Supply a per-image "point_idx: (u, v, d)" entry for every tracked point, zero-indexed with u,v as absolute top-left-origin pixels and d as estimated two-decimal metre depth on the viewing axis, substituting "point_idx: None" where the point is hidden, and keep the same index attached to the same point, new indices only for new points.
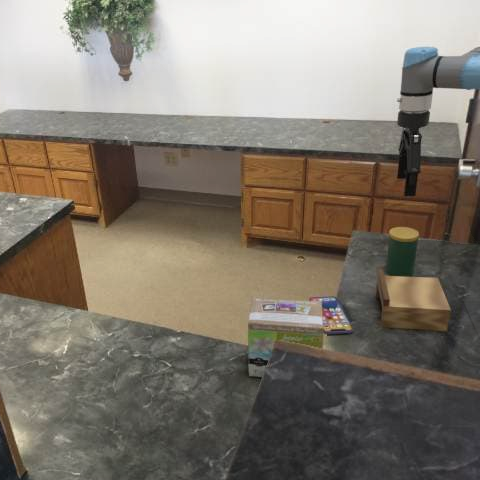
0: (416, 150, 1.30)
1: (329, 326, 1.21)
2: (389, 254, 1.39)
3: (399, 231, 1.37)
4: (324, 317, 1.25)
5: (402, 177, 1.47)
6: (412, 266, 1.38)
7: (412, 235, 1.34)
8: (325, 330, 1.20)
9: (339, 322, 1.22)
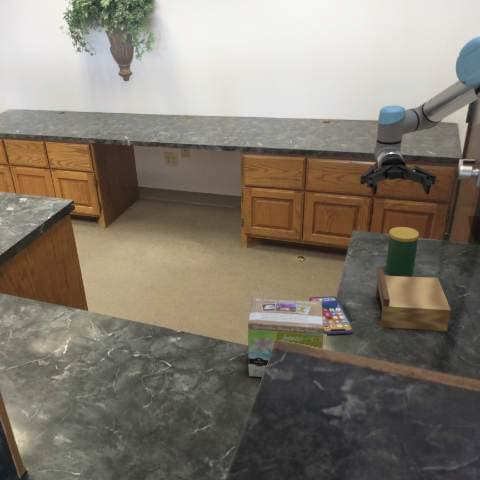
0: None
1: (329, 326, 1.21)
2: (389, 254, 1.39)
3: (399, 231, 1.37)
4: (324, 317, 1.25)
5: (426, 189, 1.40)
6: (412, 266, 1.38)
7: (412, 235, 1.34)
8: (325, 330, 1.20)
9: (339, 322, 1.22)
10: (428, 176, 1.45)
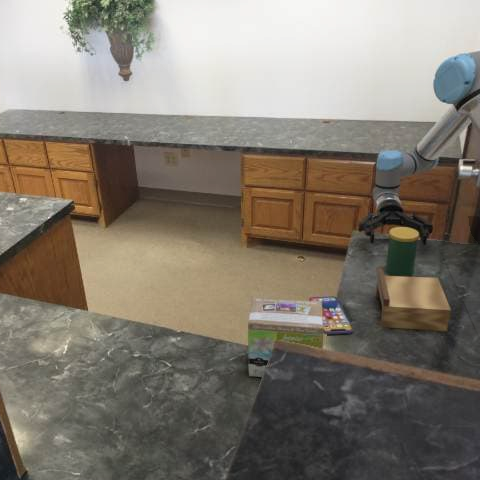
0: None
1: (329, 326, 1.21)
2: (389, 254, 1.39)
3: (399, 231, 1.37)
4: (324, 317, 1.25)
5: (423, 239, 1.43)
6: (412, 266, 1.38)
7: (412, 235, 1.34)
8: (325, 330, 1.20)
9: (339, 322, 1.22)
10: (425, 225, 1.47)
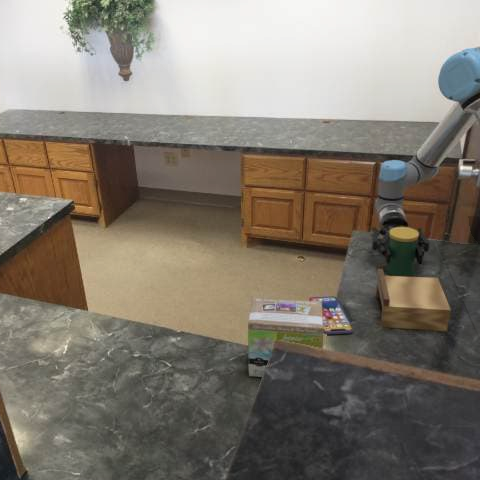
0: None
1: (329, 326, 1.21)
2: None
3: (399, 231, 1.37)
4: (324, 317, 1.25)
5: (418, 259, 1.34)
6: (412, 266, 1.38)
7: (412, 235, 1.34)
8: (325, 330, 1.20)
9: (339, 322, 1.22)
10: (420, 243, 1.38)
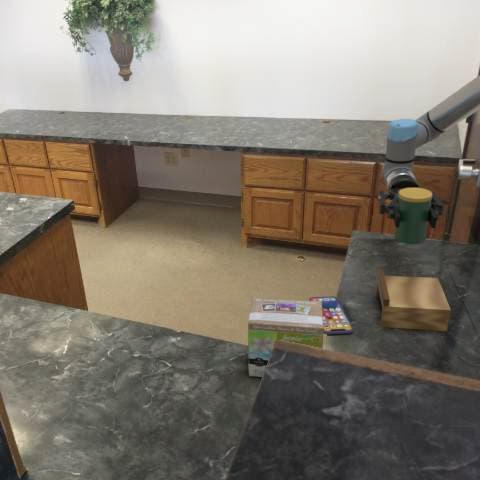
0: None
1: (329, 326, 1.21)
2: None
3: (410, 191, 1.22)
4: (324, 317, 1.25)
5: (432, 222, 1.19)
6: (424, 231, 1.23)
7: (425, 195, 1.19)
8: (325, 330, 1.20)
9: (339, 322, 1.22)
10: (433, 206, 1.23)
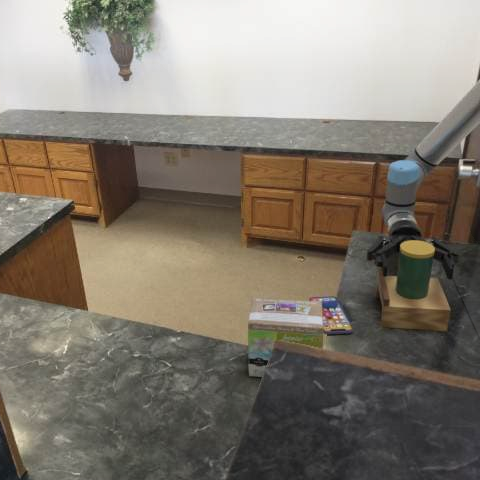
0: None
1: (329, 326, 1.21)
2: (400, 272, 1.19)
3: (412, 245, 1.18)
4: (324, 317, 1.25)
5: (448, 273, 1.15)
6: (427, 286, 1.18)
7: (427, 250, 1.15)
8: (325, 330, 1.20)
9: (339, 322, 1.22)
10: (450, 254, 1.19)
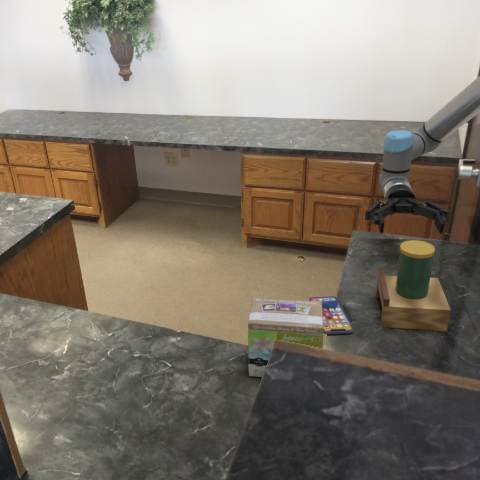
0: None
1: (329, 326, 1.21)
2: (400, 272, 1.19)
3: (412, 245, 1.18)
4: (324, 317, 1.25)
5: (440, 228, 1.25)
6: (427, 286, 1.18)
7: (427, 250, 1.15)
8: (325, 330, 1.20)
9: (339, 322, 1.22)
10: (441, 212, 1.29)
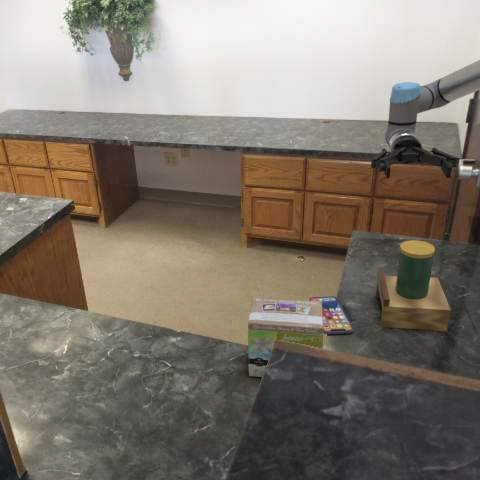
0: None
1: (329, 326, 1.21)
2: (400, 272, 1.19)
3: (412, 245, 1.18)
4: (324, 317, 1.25)
5: (447, 172, 1.24)
6: (427, 286, 1.18)
7: (427, 250, 1.15)
8: (325, 330, 1.20)
9: (339, 322, 1.22)
10: (448, 158, 1.28)
